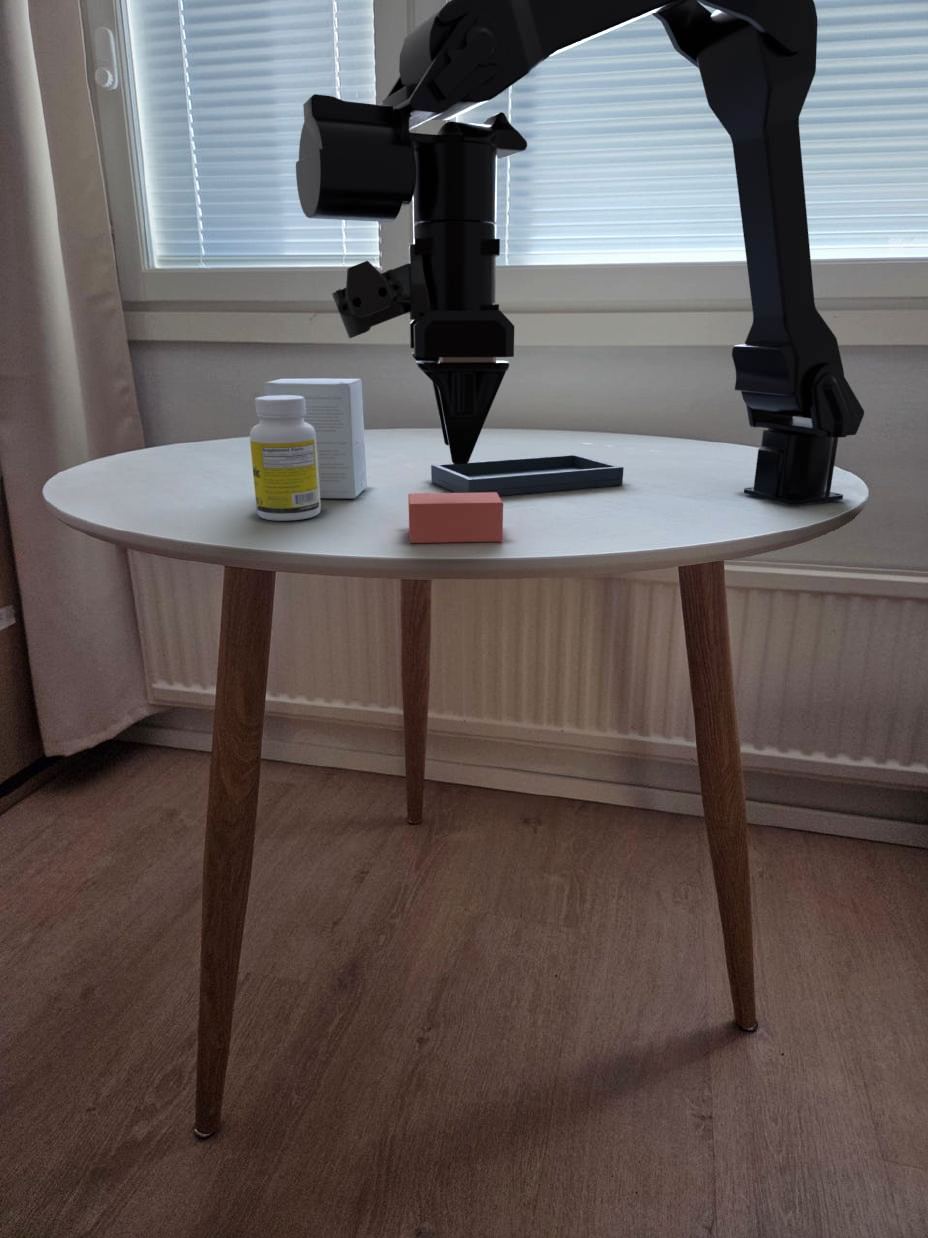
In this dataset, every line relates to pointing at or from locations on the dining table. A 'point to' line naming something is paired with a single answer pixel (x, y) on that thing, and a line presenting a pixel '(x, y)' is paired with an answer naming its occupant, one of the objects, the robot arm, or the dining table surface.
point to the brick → (455, 517)
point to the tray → (527, 475)
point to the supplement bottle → (284, 460)
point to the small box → (332, 430)
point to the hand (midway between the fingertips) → (455, 453)
